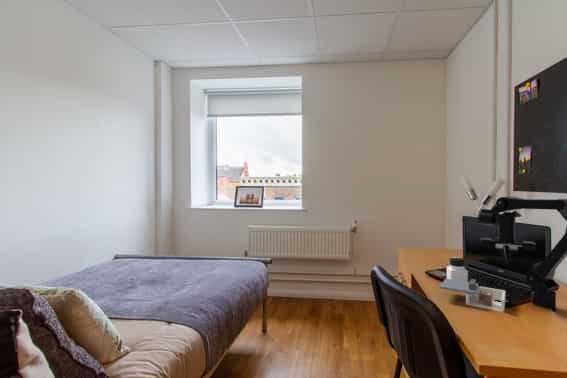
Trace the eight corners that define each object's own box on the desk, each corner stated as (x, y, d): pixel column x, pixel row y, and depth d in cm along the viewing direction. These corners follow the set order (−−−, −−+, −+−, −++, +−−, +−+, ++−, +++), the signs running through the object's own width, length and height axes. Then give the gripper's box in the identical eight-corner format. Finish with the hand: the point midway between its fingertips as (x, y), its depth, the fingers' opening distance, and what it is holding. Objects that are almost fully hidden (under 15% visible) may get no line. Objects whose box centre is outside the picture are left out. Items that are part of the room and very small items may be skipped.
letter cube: (492, 303, 123) (492, 292, 123) (491, 306, 120) (491, 295, 120) (480, 300, 126) (480, 290, 126) (478, 304, 122) (478, 293, 122)
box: (505, 303, 125) (505, 290, 125) (503, 314, 115) (503, 300, 115) (469, 296, 132) (470, 284, 132) (465, 306, 122) (465, 293, 122)
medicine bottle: (468, 286, 144) (468, 260, 144) (451, 285, 146) (451, 259, 146) (462, 281, 151) (462, 256, 151) (446, 280, 153) (446, 256, 153)
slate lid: (478, 285, 130) (478, 278, 130) (474, 294, 121) (474, 286, 120) (445, 280, 137) (445, 273, 137) (439, 288, 128) (439, 280, 128)
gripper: (534, 226, 132) (534, 263, 133) (482, 223, 144) (481, 257, 144) (535, 230, 124) (535, 270, 124) (479, 226, 135) (479, 263, 135)
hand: (506, 264), depth 132 cm, fingers closed
